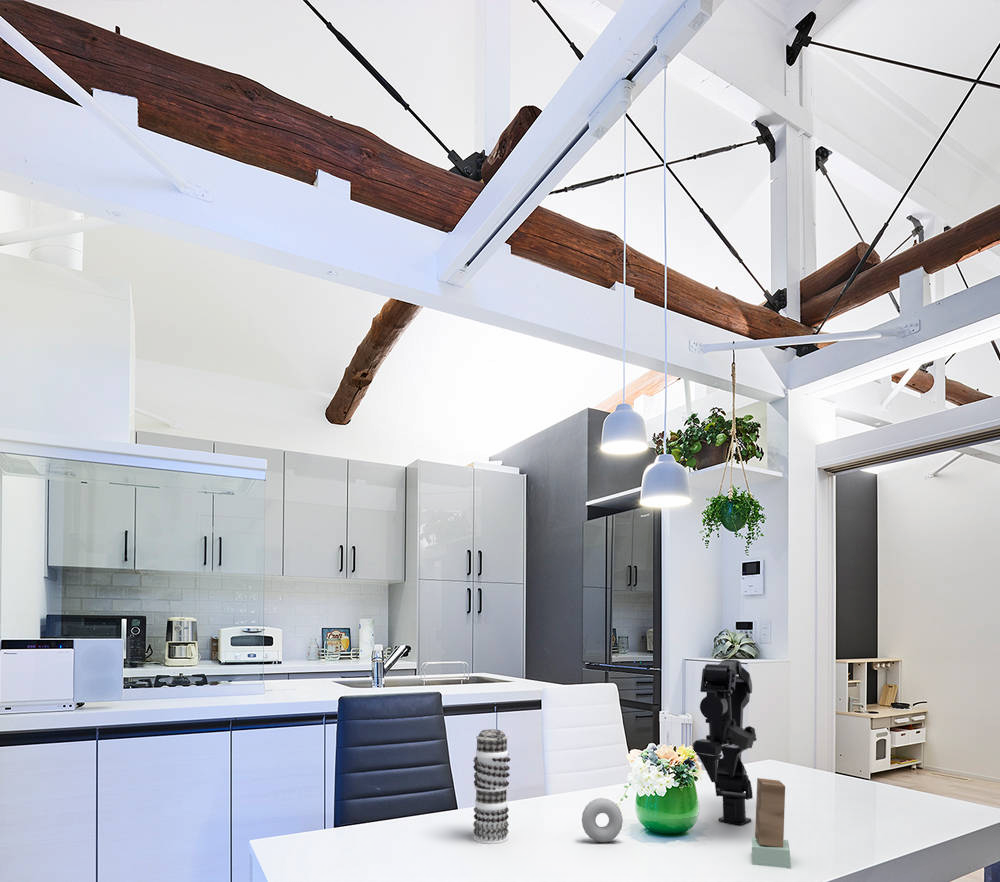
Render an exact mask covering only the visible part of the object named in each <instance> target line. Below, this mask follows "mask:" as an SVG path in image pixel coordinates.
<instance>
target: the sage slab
mask: <svg viewBox="0 0 1000 882" xmlns="http://www.w3.org/2000/svg"><path fill="white" fill-rule="evenodd" d="M790 849H791V848H790V844H789V840H788V839H783V847H775V846H767V845H760V844H759V842H758V841H757V839H756V838H755V836H751V858H752V865H753V866H754V865H755V866H764V867H774V868H783V869H791V867H792V866H791V863H792V862H791V852H790V851H791V850H790Z"/></svg>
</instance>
